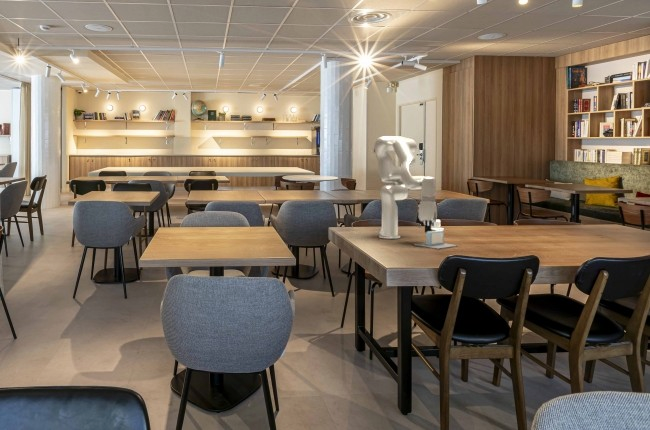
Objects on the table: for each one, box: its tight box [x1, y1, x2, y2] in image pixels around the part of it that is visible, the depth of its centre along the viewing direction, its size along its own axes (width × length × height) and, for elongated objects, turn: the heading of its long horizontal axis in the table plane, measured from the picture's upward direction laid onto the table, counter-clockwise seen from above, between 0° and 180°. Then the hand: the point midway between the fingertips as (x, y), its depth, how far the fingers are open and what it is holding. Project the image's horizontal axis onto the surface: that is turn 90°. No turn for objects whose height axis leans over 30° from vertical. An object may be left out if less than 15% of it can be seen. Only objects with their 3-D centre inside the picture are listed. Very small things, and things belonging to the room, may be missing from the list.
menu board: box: [425, 230, 445, 246], centre depth 344 cm, size 3×11×8 cm, turn 129°
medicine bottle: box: [431, 219, 445, 232], centre depth 365 cm, size 7×7×12 cm
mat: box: [412, 242, 458, 250], centre depth 345 cm, size 18×16×1 cm
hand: (427, 232), depth 348 cm, fingers closed
